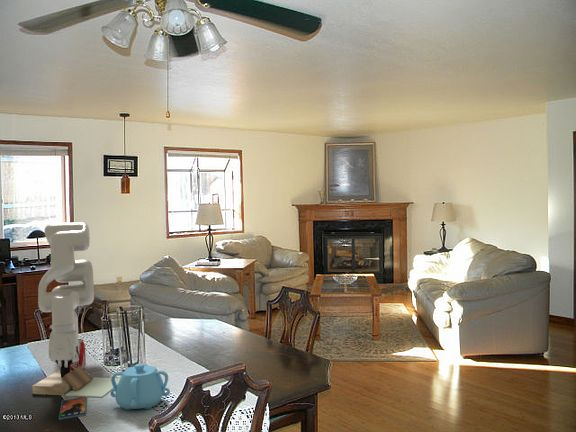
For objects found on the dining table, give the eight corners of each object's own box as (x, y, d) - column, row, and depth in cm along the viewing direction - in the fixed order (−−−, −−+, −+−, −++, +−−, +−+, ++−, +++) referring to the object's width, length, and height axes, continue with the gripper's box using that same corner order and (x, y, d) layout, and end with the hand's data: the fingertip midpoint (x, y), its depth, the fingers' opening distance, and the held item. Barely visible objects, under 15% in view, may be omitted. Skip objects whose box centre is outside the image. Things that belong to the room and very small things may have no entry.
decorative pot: (153, 390, 183) (151, 353, 183) (173, 404, 171) (172, 364, 170) (108, 403, 173) (106, 364, 172) (127, 418, 161) (125, 376, 160)
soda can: (65, 373, 202) (64, 344, 202) (68, 367, 209) (67, 339, 208) (84, 371, 204) (83, 342, 204) (86, 366, 211) (85, 337, 210)
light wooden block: (59, 377, 198) (58, 370, 198) (87, 378, 196) (87, 371, 196) (32, 393, 182) (32, 385, 182) (63, 395, 180) (63, 387, 180)
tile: (77, 368, 193) (79, 366, 193) (90, 381, 193) (93, 378, 193) (62, 378, 183) (64, 375, 183) (76, 391, 183) (78, 388, 183)
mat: (90, 378, 197) (90, 377, 196) (124, 379, 194) (124, 378, 194) (65, 395, 180) (65, 394, 180) (102, 397, 178) (101, 396, 178)
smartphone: (58, 418, 161) (61, 399, 175) (58, 423, 161) (61, 403, 175) (85, 413, 163) (87, 395, 177) (86, 417, 163) (87, 398, 178)
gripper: (38, 330, 185) (40, 379, 186) (76, 331, 183) (78, 381, 184) (51, 325, 193) (53, 372, 193) (87, 326, 190) (89, 373, 191)
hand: (65, 376), depth 189 cm, fingers closed
